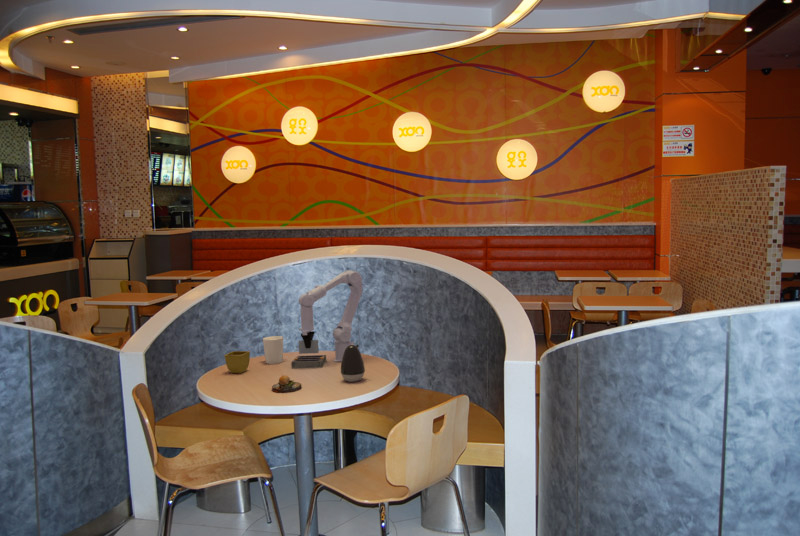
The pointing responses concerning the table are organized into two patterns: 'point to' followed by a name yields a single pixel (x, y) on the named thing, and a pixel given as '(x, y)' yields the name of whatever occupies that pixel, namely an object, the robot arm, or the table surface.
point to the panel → (308, 350)
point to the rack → (309, 361)
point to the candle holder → (273, 349)
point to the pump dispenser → (352, 364)
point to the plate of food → (286, 385)
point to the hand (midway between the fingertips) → (308, 347)
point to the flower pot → (237, 361)
